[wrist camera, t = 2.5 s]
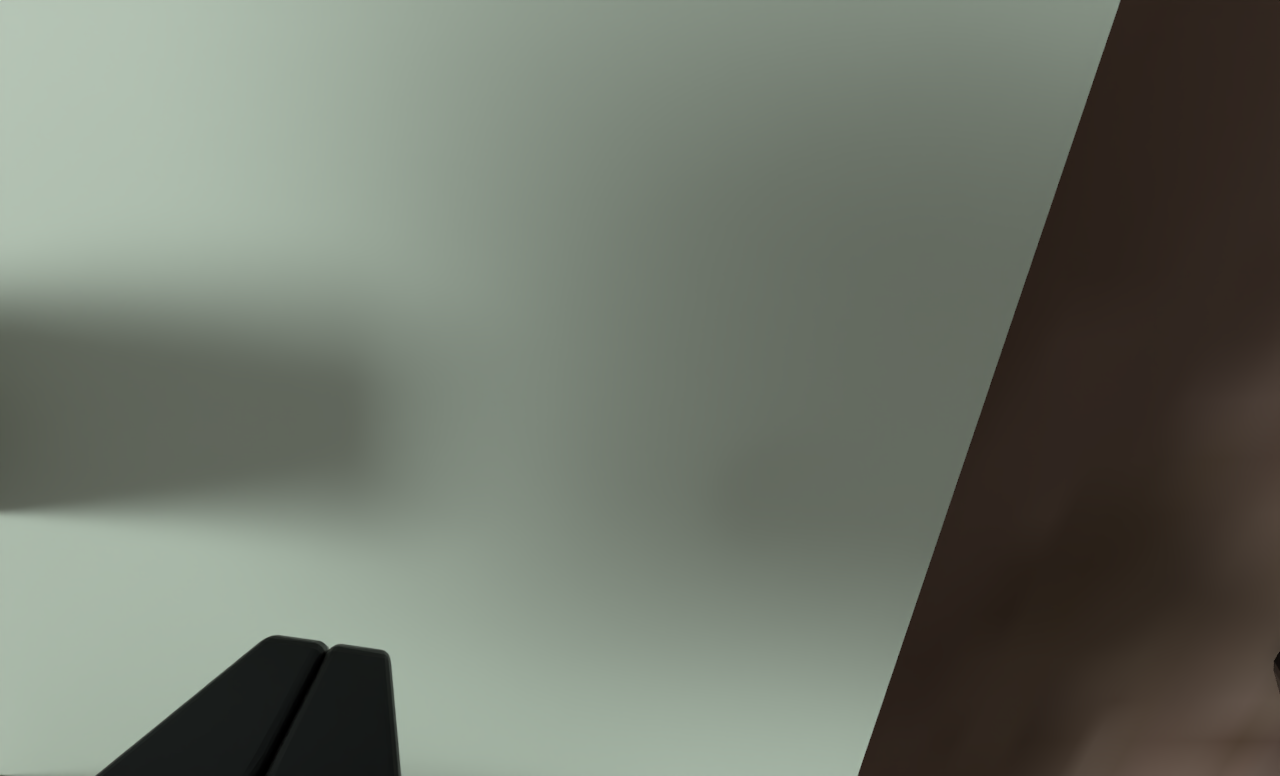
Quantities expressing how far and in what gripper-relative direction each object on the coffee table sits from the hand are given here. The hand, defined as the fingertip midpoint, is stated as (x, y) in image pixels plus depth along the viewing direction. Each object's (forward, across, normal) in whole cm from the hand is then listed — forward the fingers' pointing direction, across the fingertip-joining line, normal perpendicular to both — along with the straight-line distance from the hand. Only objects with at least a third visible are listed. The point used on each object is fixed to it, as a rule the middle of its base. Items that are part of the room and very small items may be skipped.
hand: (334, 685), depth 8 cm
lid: (+4, +1, +6) cm, 7 cm away
